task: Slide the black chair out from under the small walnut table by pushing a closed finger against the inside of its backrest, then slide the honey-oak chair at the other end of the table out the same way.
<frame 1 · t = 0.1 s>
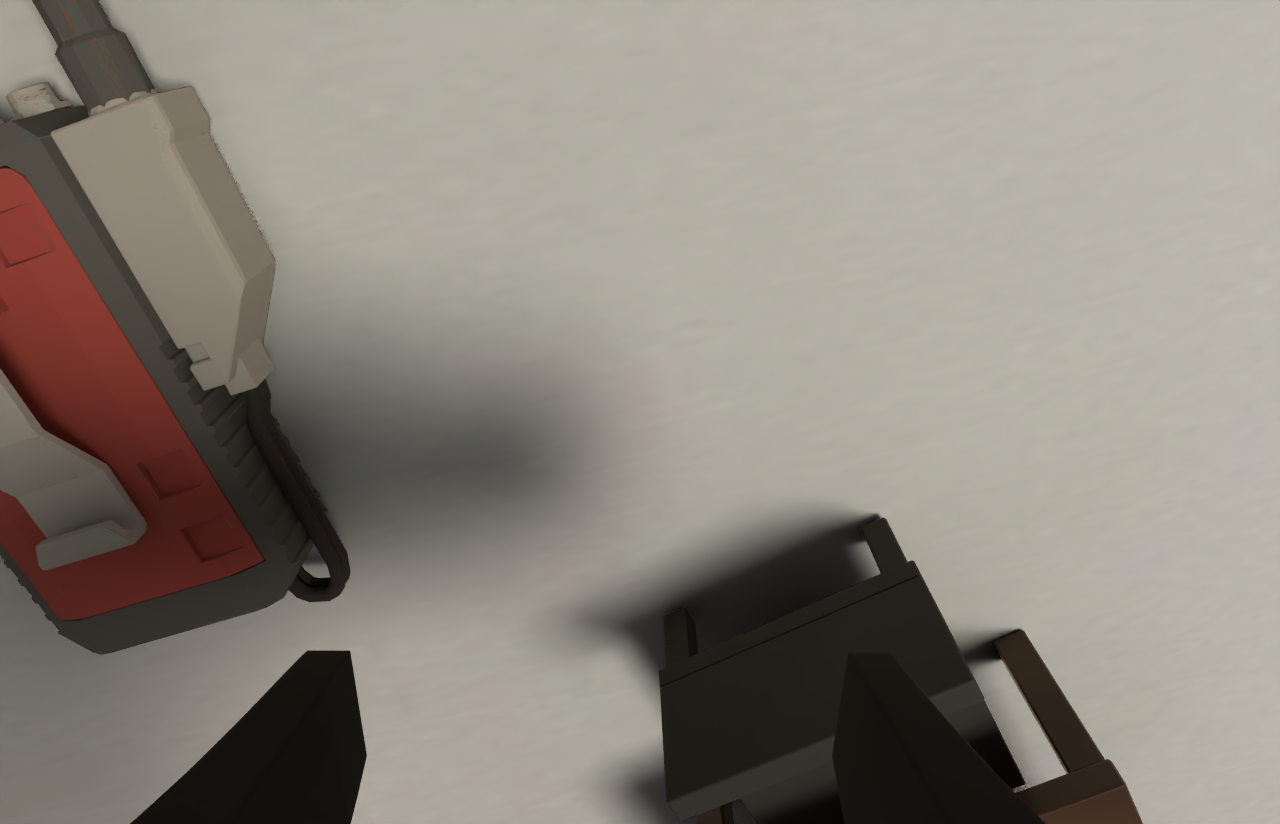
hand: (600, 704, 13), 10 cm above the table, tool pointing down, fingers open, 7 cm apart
black chair: (852, 747, 22), point 3 cm above the table, slide at 0.0 cm
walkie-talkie: (82, 236, 20), on the table
dining table: (903, 789, 28), on the table
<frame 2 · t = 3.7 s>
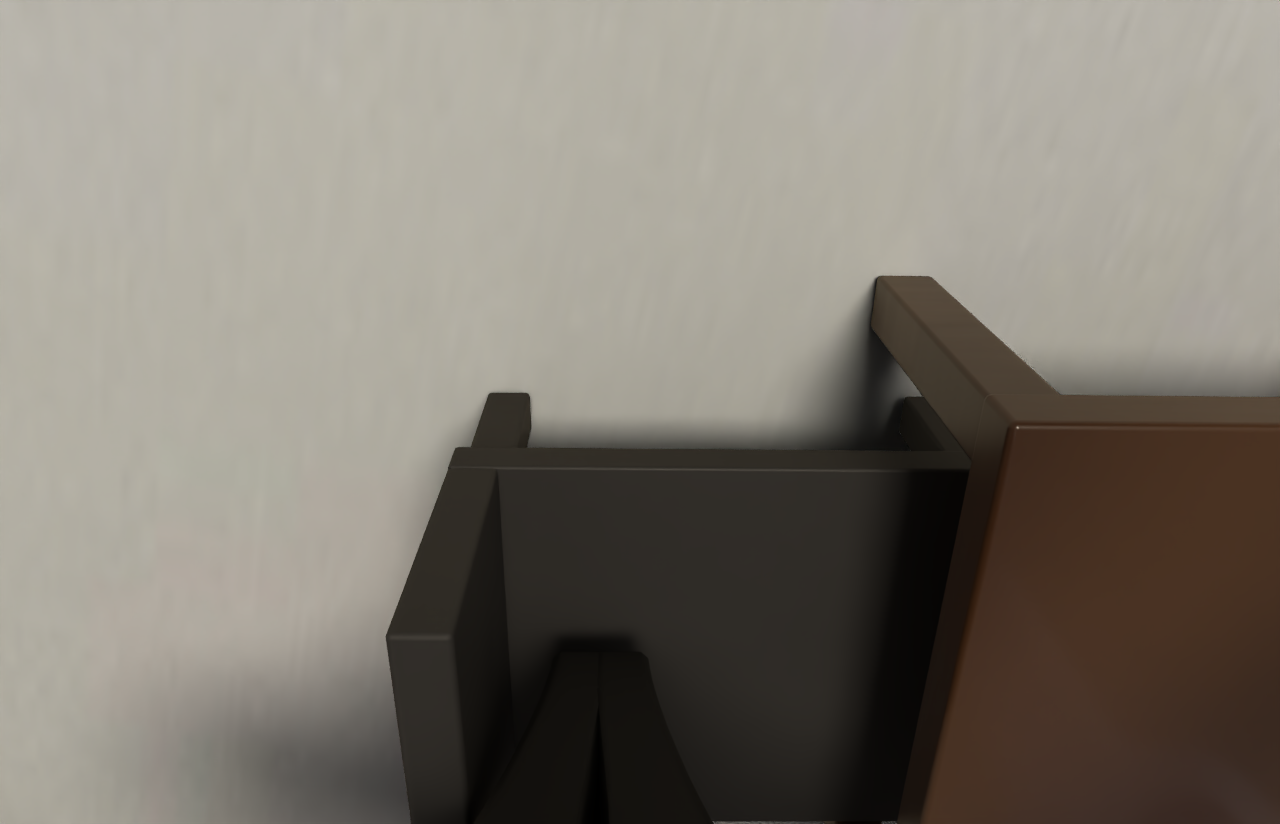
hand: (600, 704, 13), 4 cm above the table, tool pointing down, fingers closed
black chair: (725, 680, 13), point 3 cm above the table, slide at 0.7 cm, touching gripper
dining table: (1070, 555, 16), on the table
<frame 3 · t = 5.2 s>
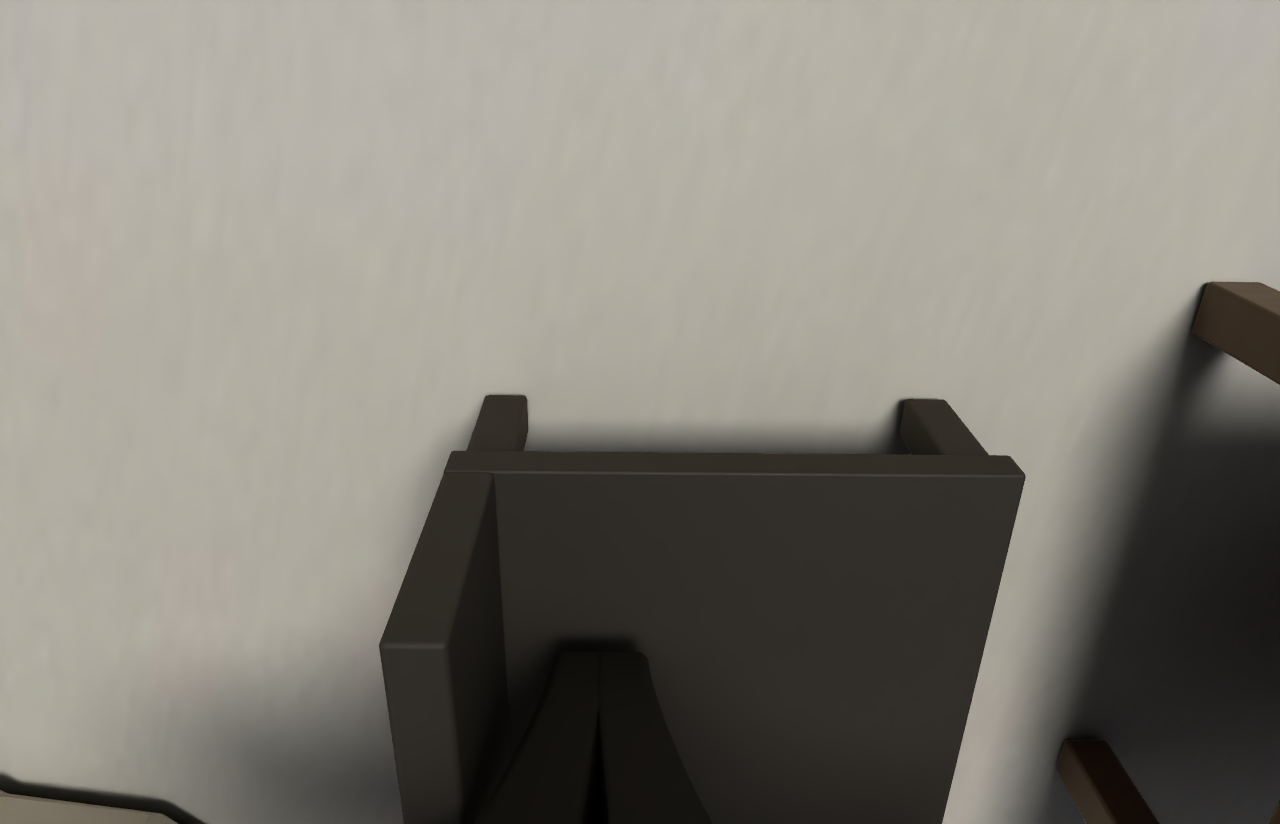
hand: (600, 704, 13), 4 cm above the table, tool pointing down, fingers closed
black chair: (724, 686, 13), point 3 cm above the table, slide at 5.9 cm, touching gripper
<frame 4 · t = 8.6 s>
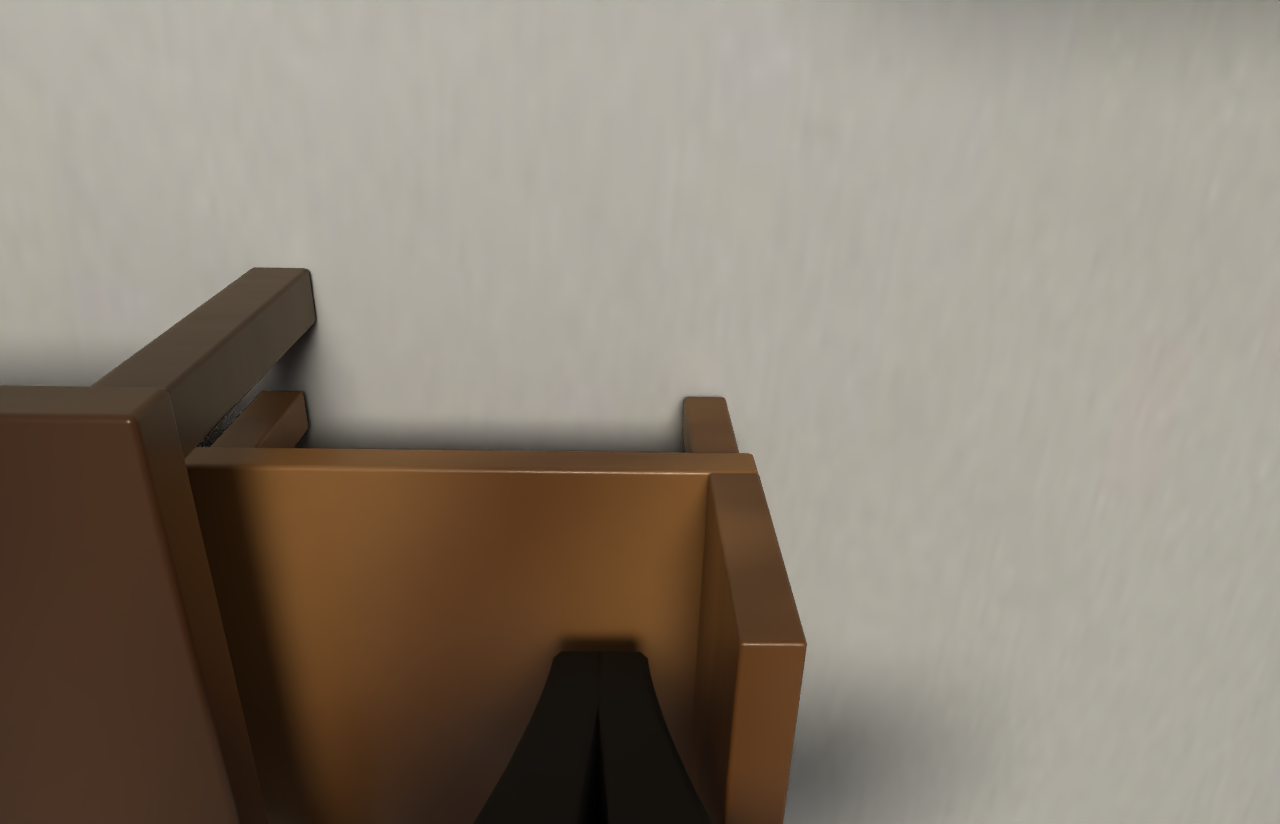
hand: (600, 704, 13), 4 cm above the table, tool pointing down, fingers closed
dining table: (108, 551, 16), on the table
oak chair: (477, 683, 13), point 3 cm above the table, slide at 1.0 cm, touching gripper
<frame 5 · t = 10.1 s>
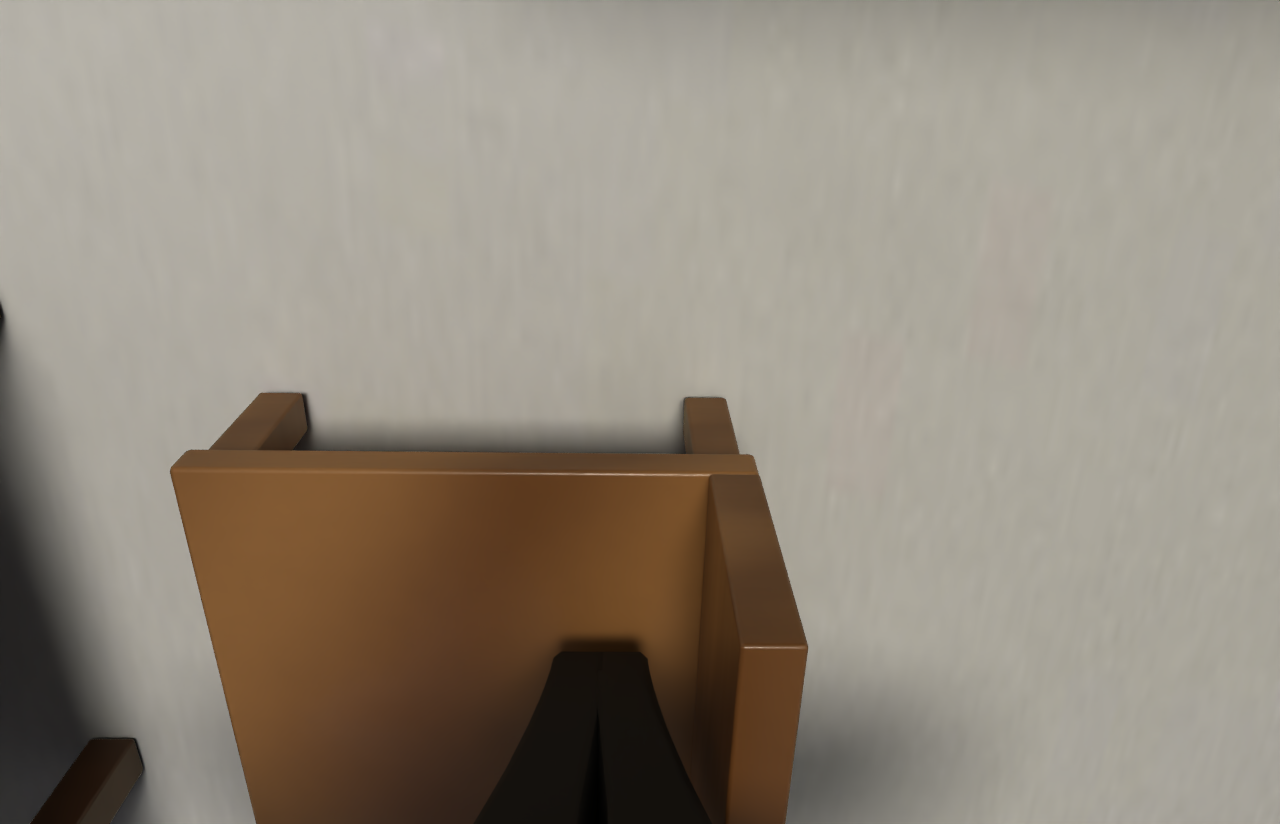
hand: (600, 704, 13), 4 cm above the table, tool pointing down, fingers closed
oak chair: (478, 686, 13), point 3 cm above the table, slide at 5.9 cm, touching gripper
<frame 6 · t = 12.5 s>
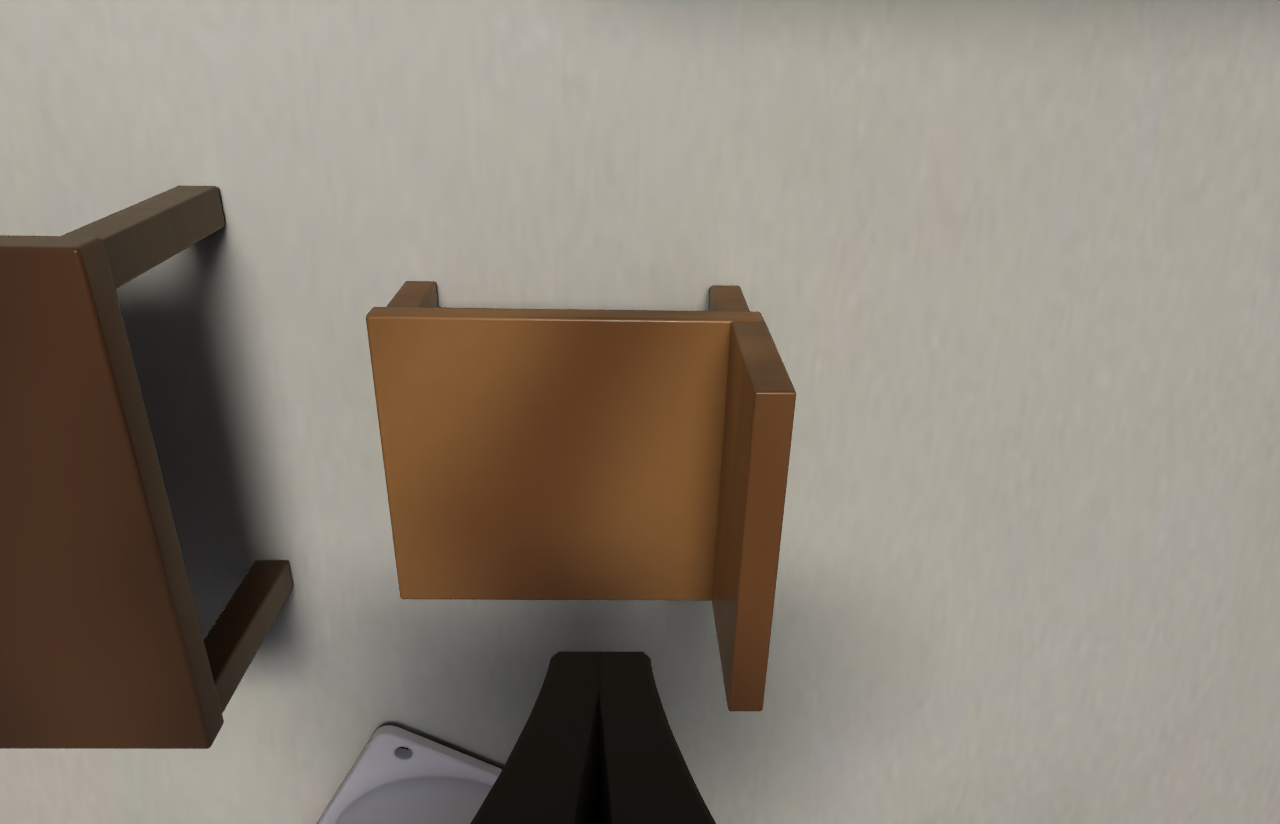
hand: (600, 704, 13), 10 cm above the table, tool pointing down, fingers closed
dining table: (79, 406, 21), on the table
oak chair: (568, 478, 19), point 3 cm above the table, slide at 5.9 cm
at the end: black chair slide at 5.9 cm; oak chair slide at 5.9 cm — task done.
